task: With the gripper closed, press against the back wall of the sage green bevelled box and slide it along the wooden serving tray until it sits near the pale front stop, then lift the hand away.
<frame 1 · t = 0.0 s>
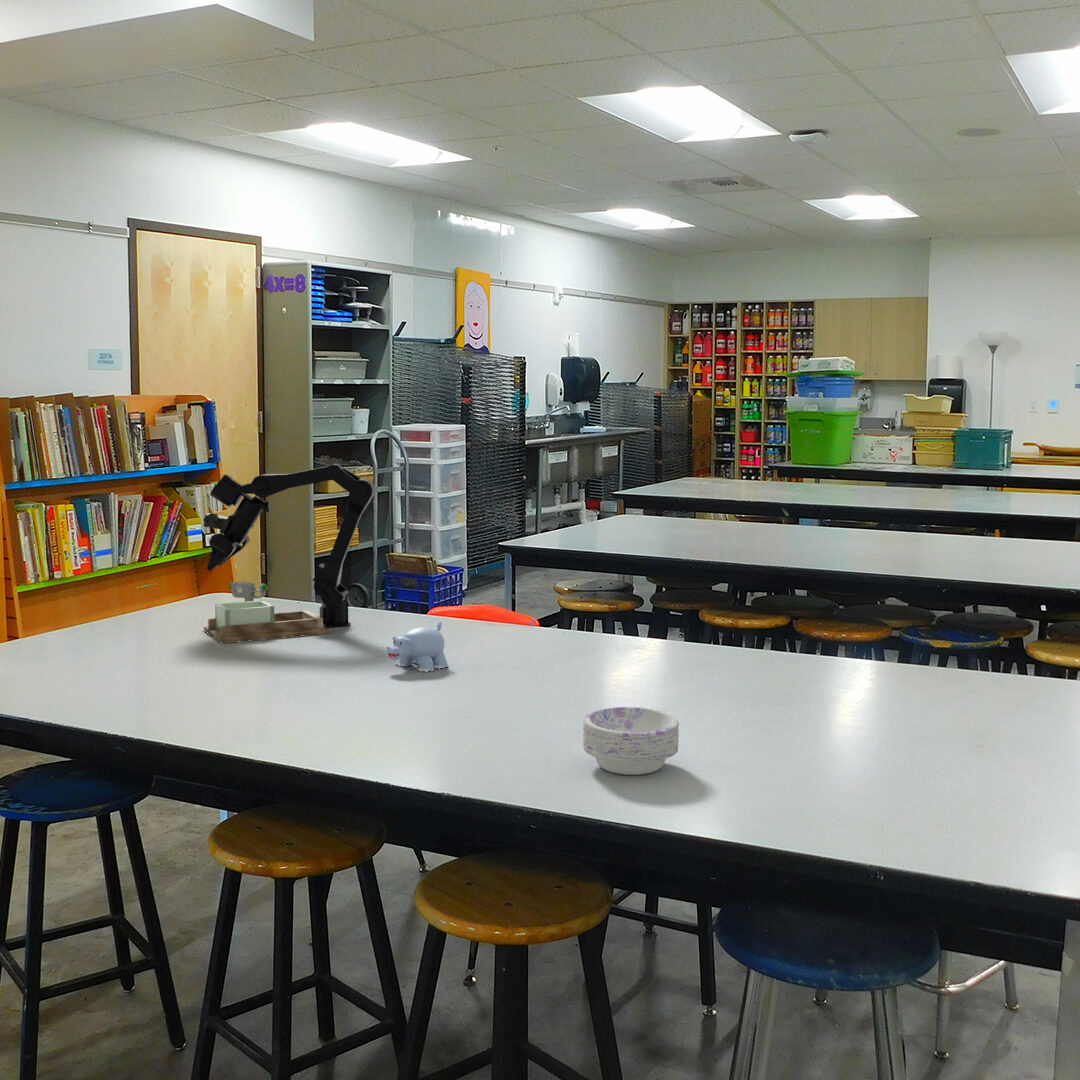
hand: (213, 567, 297), 15 cm above the table, tool tilted 35°, fingers open, 9 cm apart
sage green bevelled box: (244, 617, 286), point 4 cm above the table, slide at 0.0 cm
hippopotamus toy: (416, 668, 252), on the table
wooden serving tray: (261, 632, 288), on the table
mechanical component: (249, 621, 304), on the table
paper bowls: (630, 767, 184), on the table
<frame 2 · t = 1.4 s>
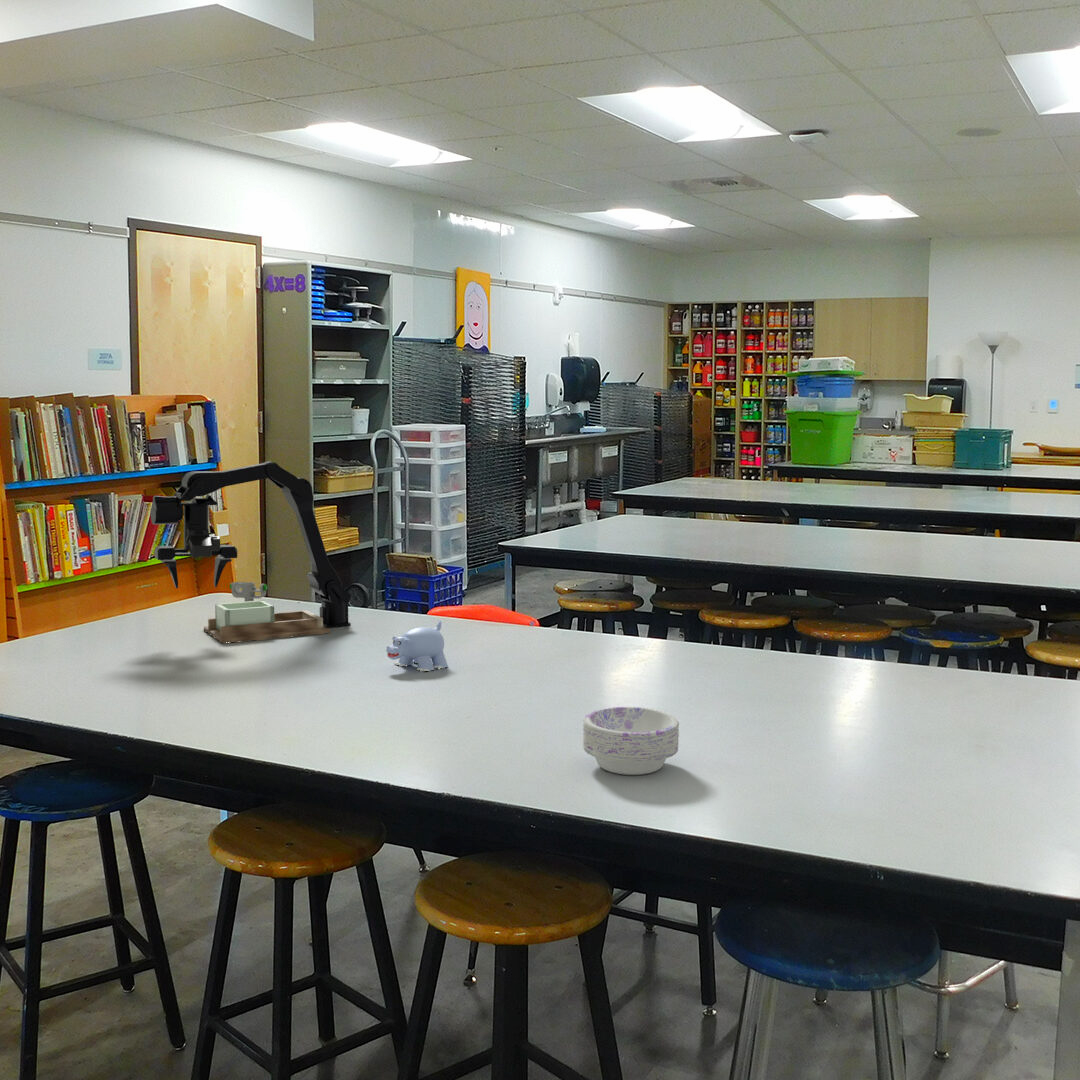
hand: (196, 587, 280), 12 cm above the table, tool pointing down, fingers open, 9 cm apart
nothing on the table moved.
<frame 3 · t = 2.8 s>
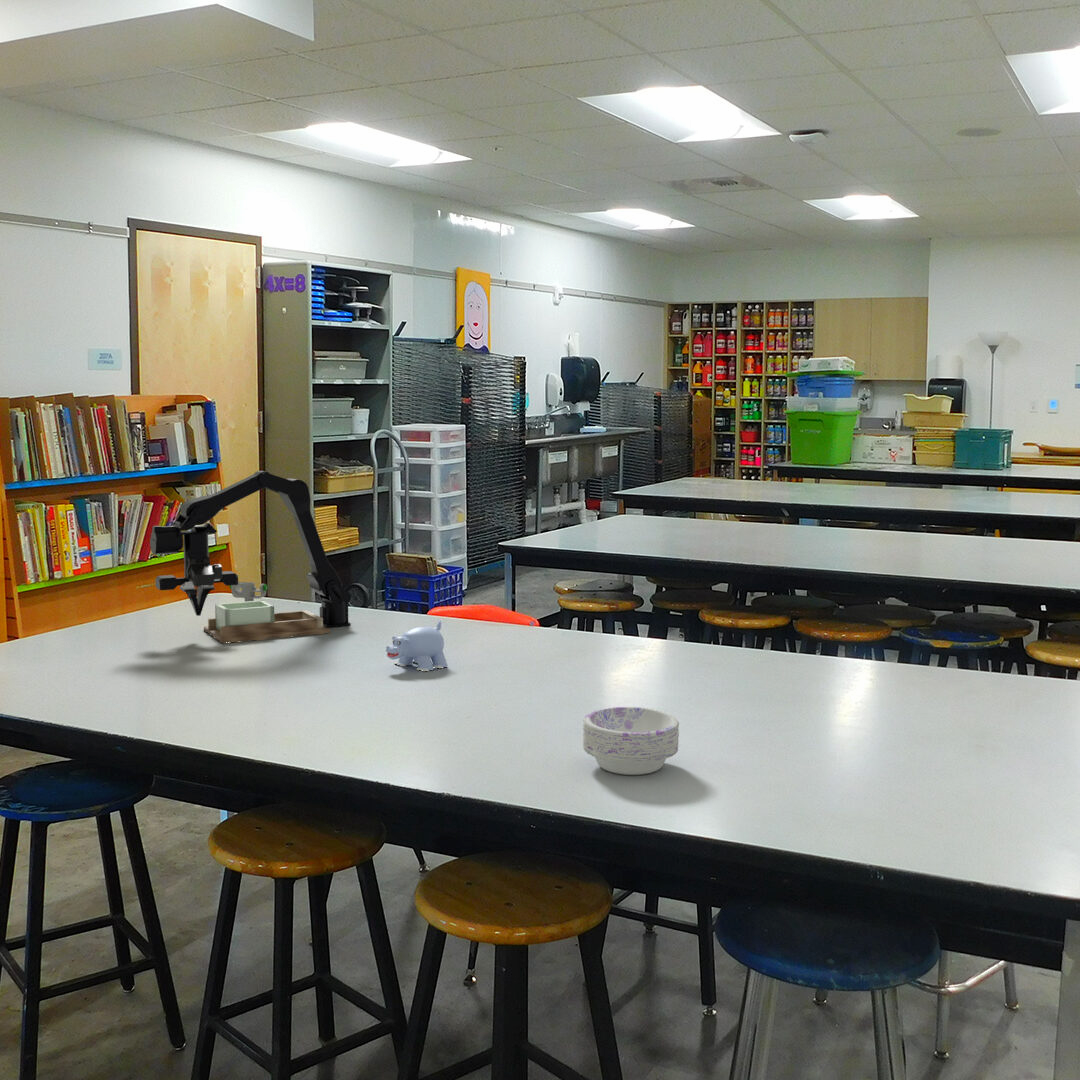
hand: (198, 615, 280), 6 cm above the table, tool pointing down, fingers closed
nothing on the table moved.
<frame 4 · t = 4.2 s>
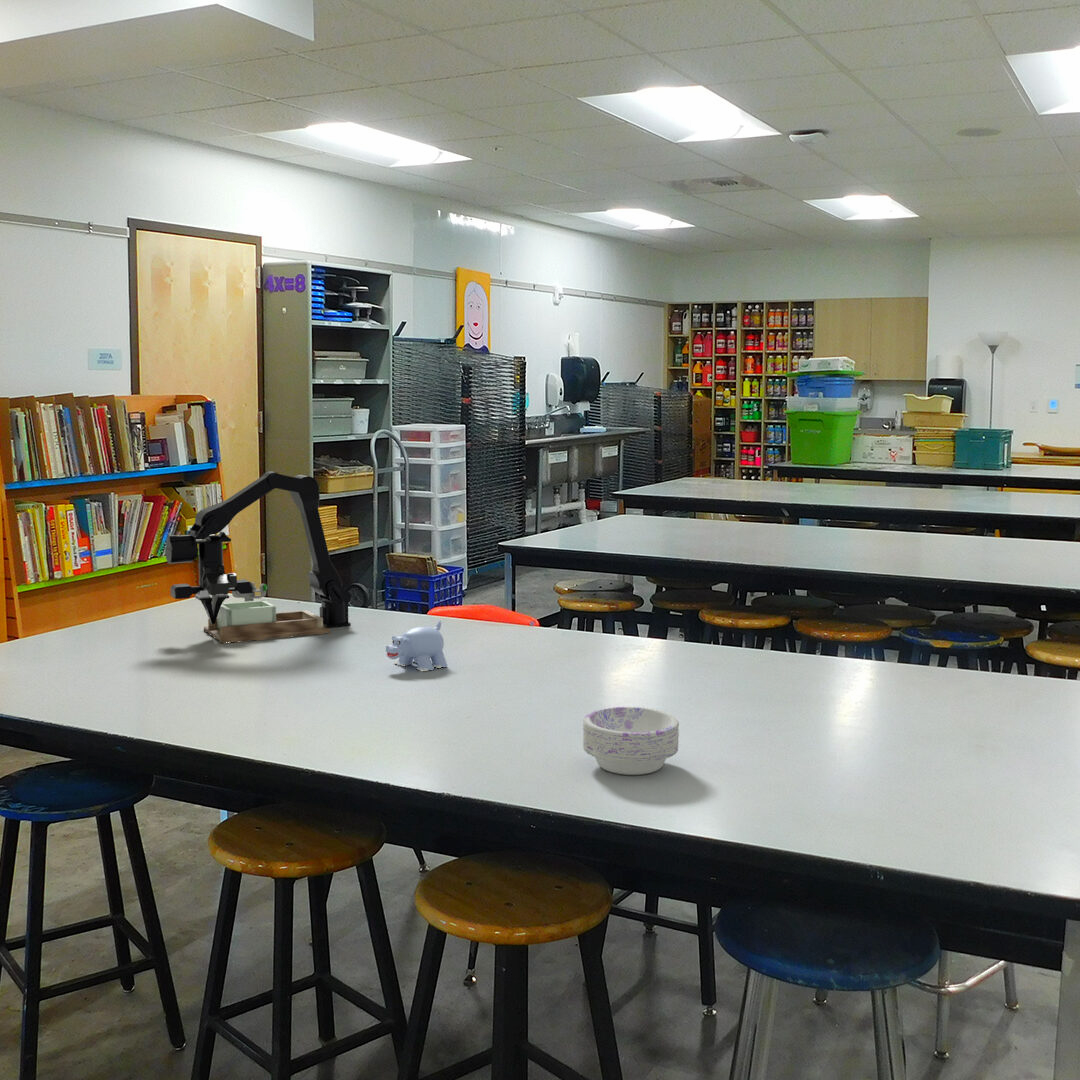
hand: (212, 623, 282), 3 cm above the table, tool pointing down, fingers closed
sage green bevelled box: (246, 616, 286), point 4 cm above the table, slide at 0.4 cm, touching gripper
everything else where it was.
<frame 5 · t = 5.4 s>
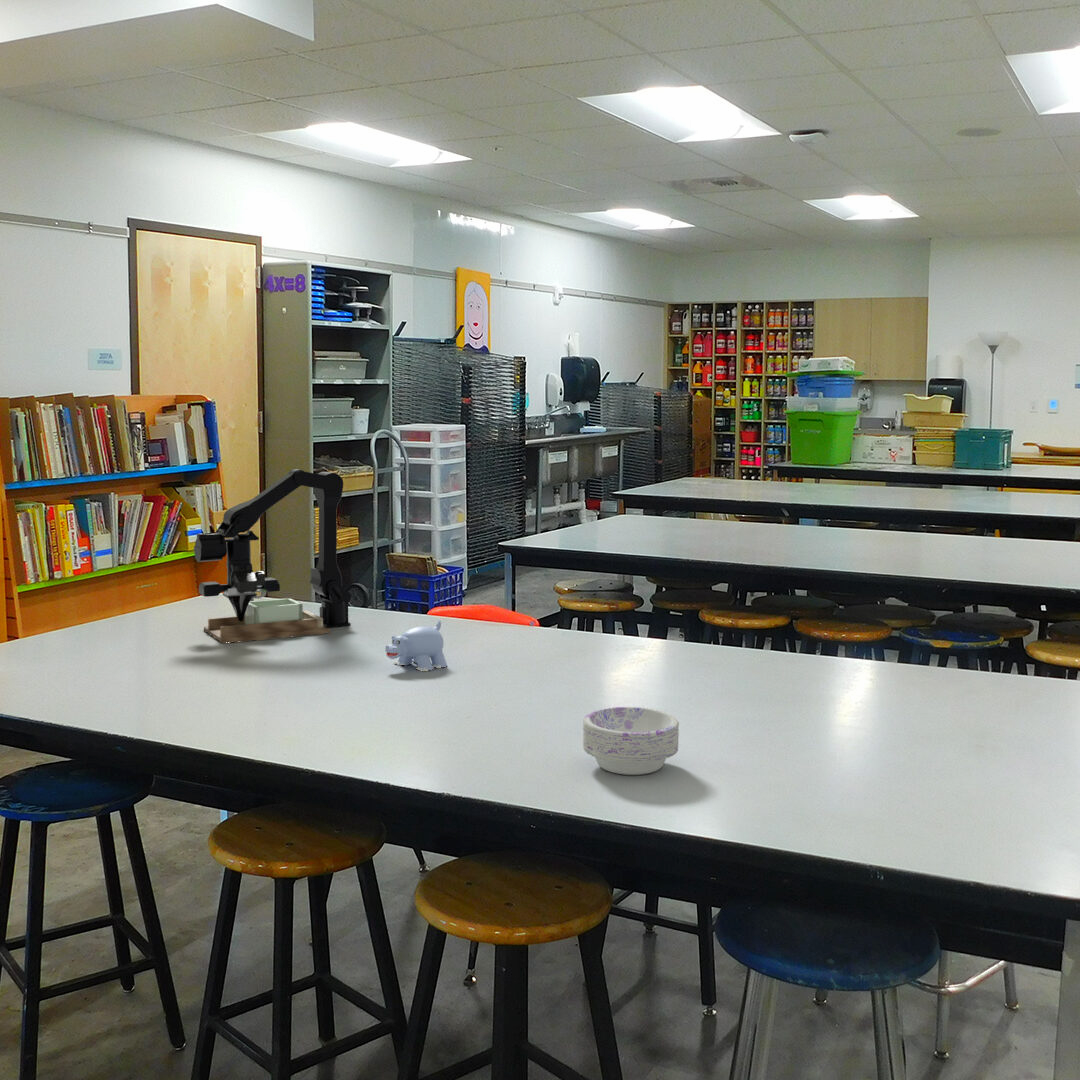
hand: (240, 621, 285), 3 cm above the table, tool pointing down, fingers closed
sage green bevelled box: (273, 614, 289), point 4 cm above the table, slide at 7.2 cm, touching gripper
everything else where it was.
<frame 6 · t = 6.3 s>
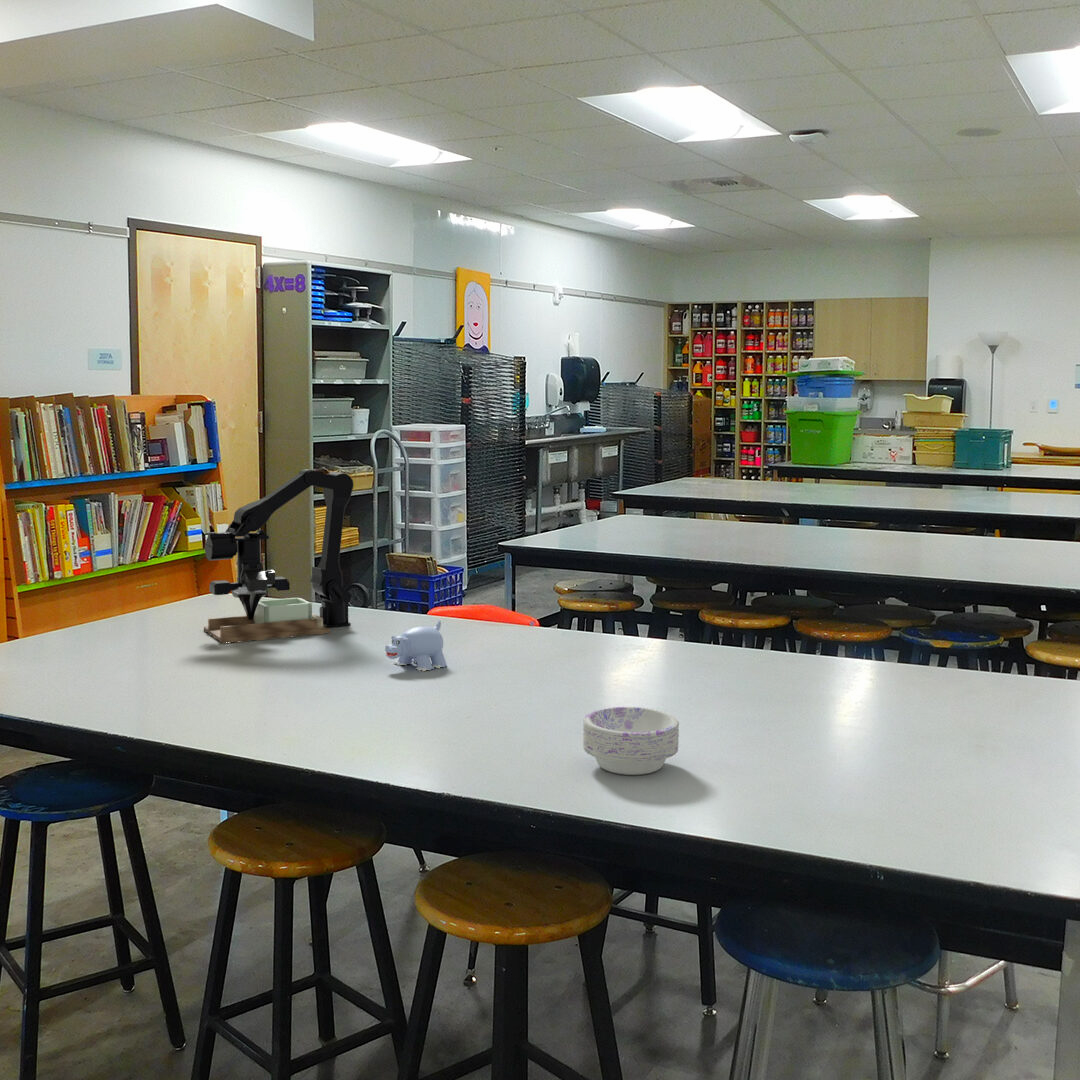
hand: (250, 619, 287), 3 cm above the table, tool pointing down, fingers closed
sage green bevelled box: (282, 613, 291), point 4 cm above the table, slide at 9.7 cm, touching gripper
everything else where it was.
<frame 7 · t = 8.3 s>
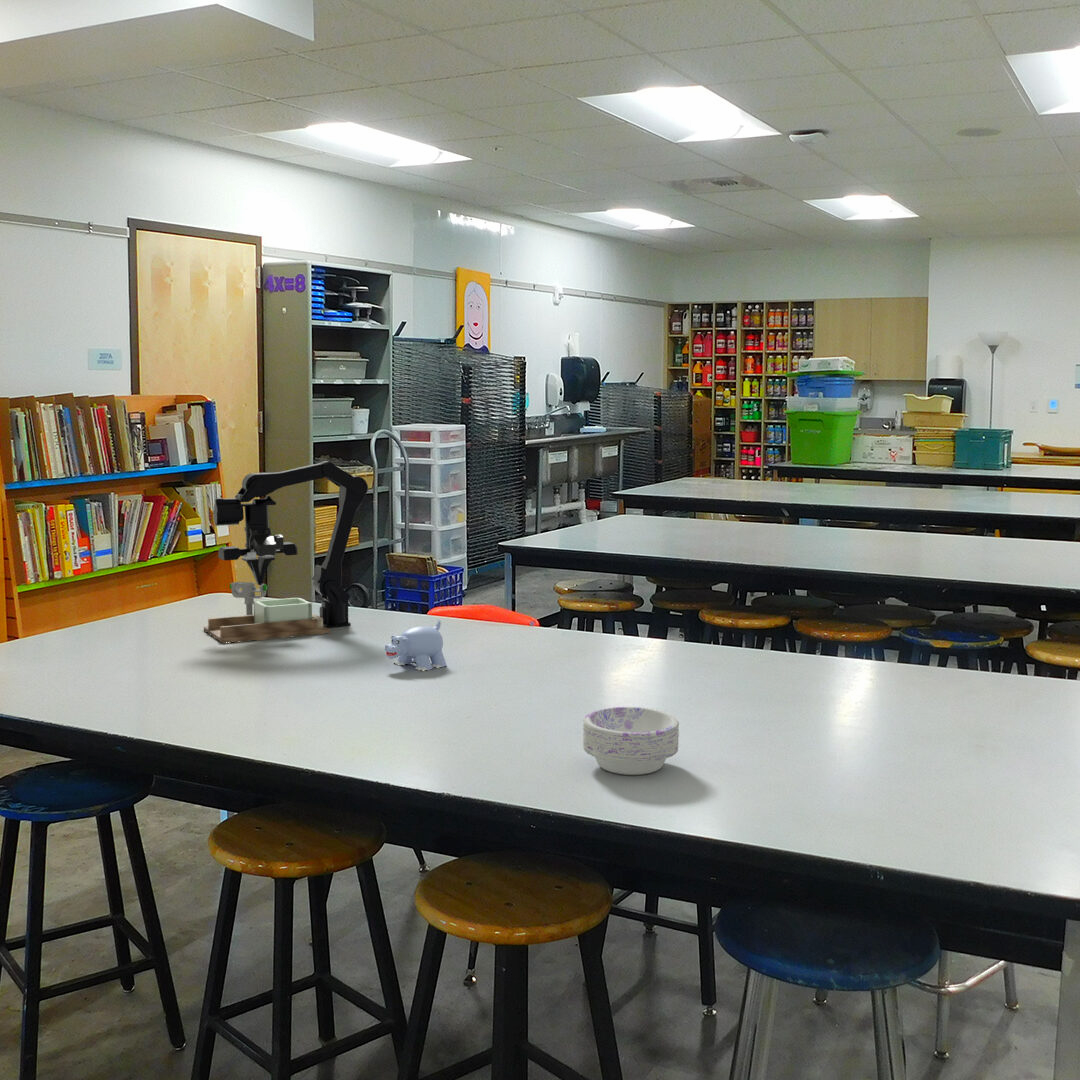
hand: (259, 584, 290), 12 cm above the table, tool pointing down, fingers closed
sage green bevelled box: (282, 613, 291), point 4 cm above the table, slide at 9.7 cm
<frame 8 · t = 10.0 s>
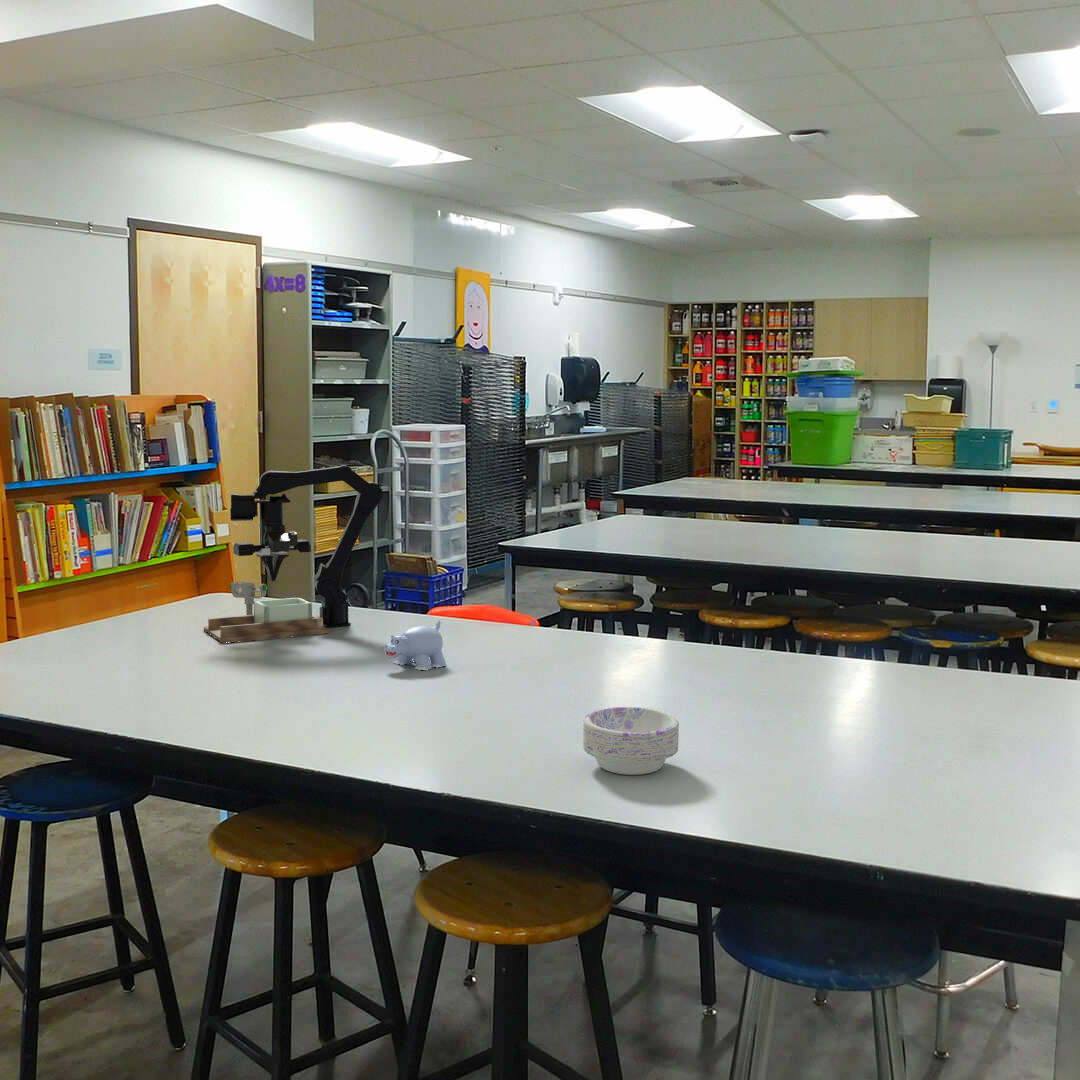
hand: (273, 581, 294), 12 cm above the table, tool pointing down, fingers closed
at the end: sage green bevelled box slide at 9.7 cm; mechanical component moved 0.2 cm from its start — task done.
